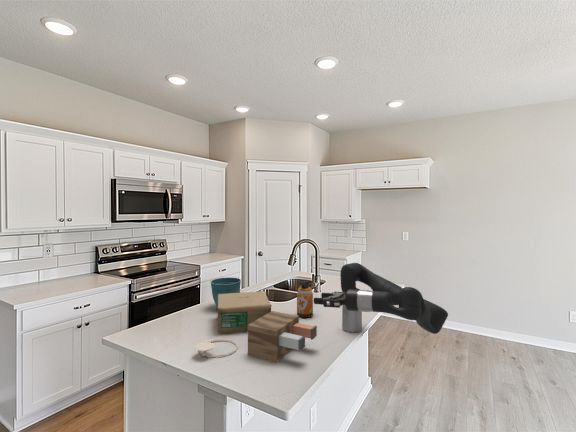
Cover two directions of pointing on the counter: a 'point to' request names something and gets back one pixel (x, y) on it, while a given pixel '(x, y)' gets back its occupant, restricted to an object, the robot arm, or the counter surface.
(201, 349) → the hand towel holder
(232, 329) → the paper package
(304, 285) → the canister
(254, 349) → the socket block
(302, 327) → the brick plug
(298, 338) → the grey plug
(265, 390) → the counter surface
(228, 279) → the flower pot
